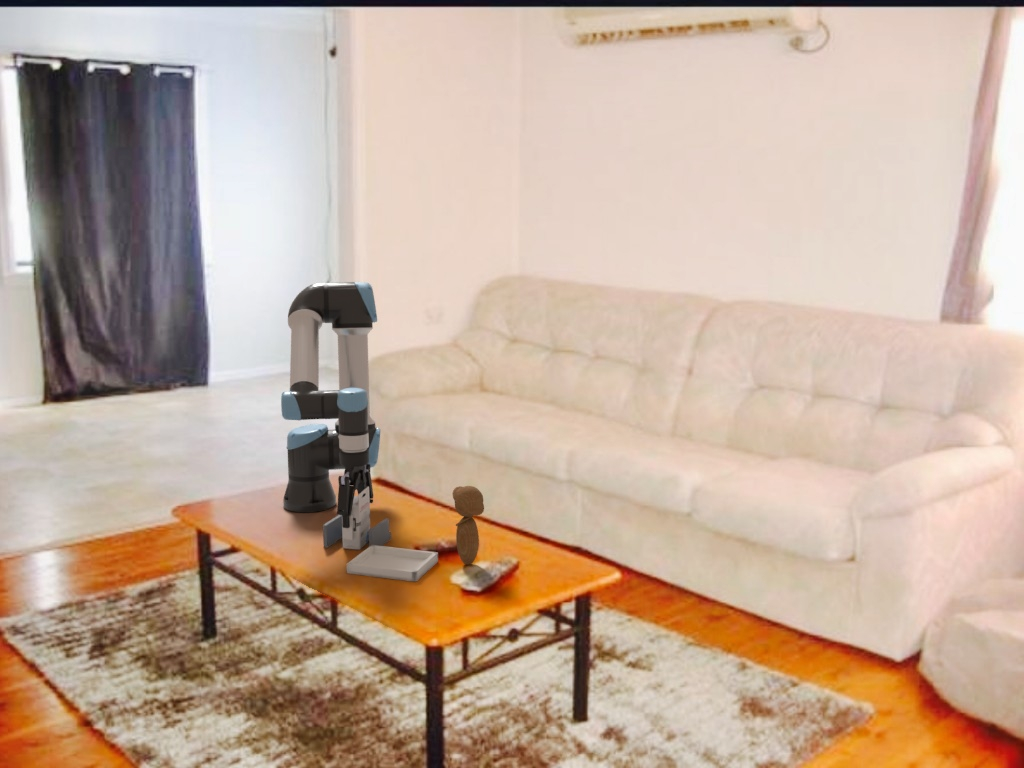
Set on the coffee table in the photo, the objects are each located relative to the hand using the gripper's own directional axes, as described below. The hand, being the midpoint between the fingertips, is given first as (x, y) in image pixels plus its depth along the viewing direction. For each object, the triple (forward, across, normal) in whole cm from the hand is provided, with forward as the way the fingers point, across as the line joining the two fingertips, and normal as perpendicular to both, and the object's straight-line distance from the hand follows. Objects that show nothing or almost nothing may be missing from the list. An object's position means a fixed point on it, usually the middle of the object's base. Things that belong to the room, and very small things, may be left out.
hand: (356, 533), depth 269 cm
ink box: (+3, 0, 0) cm, 3 cm away
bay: (+3, 0, 0) cm, 3 cm away
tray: (+3, +12, +16) cm, 21 cm away
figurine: (+3, +5, +33) cm, 34 cm away
